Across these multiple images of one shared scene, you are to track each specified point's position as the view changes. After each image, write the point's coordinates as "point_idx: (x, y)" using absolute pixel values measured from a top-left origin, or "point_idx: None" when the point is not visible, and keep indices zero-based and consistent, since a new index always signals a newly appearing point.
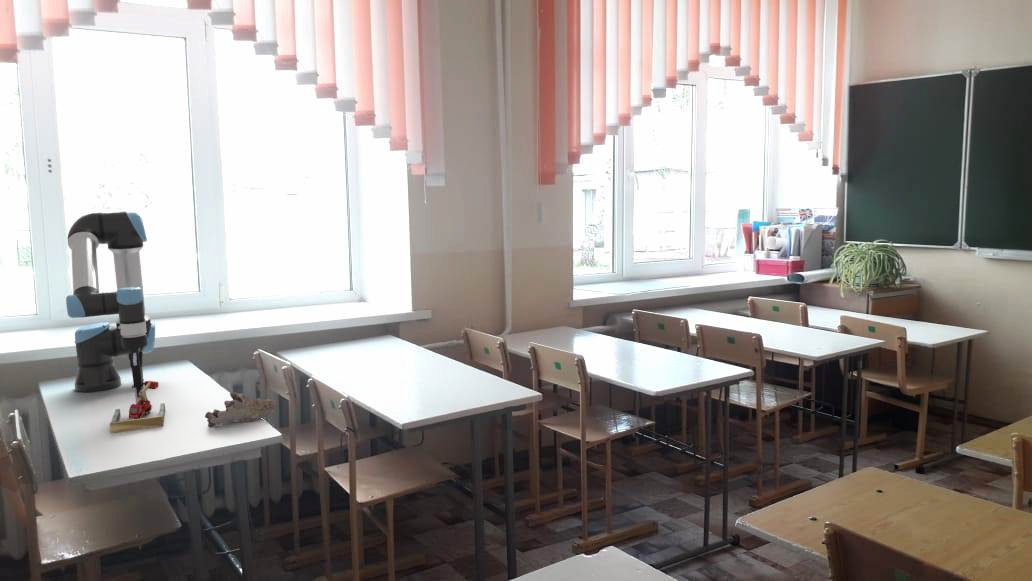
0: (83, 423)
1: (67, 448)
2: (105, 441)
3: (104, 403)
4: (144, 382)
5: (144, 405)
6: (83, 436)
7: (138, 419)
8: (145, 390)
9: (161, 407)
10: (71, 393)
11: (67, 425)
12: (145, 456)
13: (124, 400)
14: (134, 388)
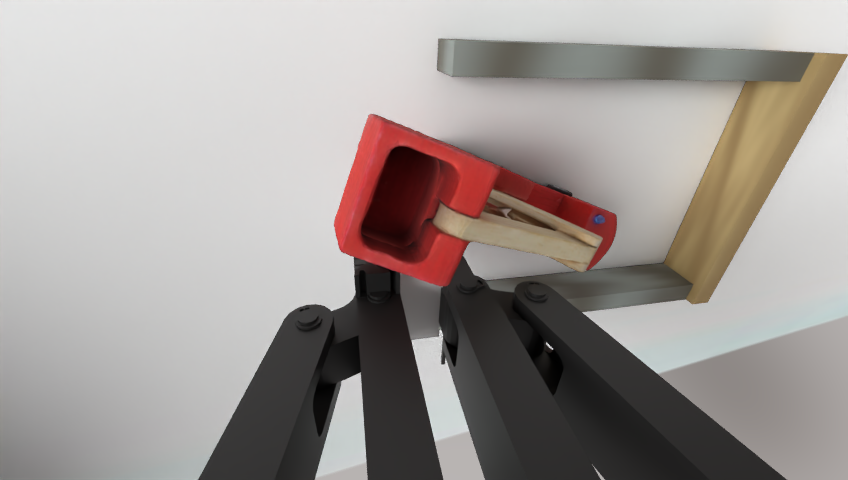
0: None
1: (716, 354)
2: (752, 272)
3: (110, 403)
4: (358, 286)
5: (530, 191)
6: (632, 347)
7: (765, 191)
8: (552, 231)
9: (579, 66)
10: None
11: (455, 421)
12: None
13: (42, 330)
14: (435, 328)
